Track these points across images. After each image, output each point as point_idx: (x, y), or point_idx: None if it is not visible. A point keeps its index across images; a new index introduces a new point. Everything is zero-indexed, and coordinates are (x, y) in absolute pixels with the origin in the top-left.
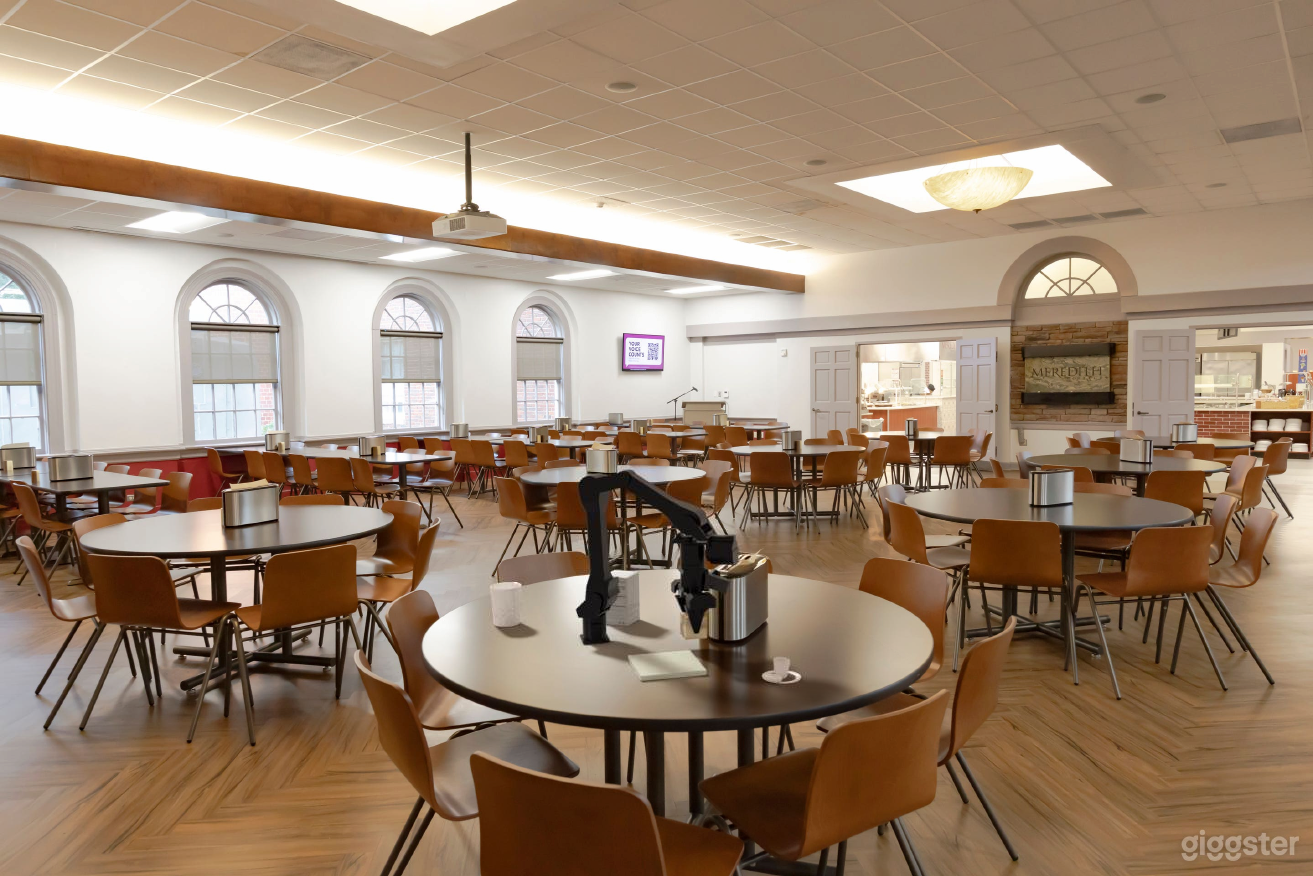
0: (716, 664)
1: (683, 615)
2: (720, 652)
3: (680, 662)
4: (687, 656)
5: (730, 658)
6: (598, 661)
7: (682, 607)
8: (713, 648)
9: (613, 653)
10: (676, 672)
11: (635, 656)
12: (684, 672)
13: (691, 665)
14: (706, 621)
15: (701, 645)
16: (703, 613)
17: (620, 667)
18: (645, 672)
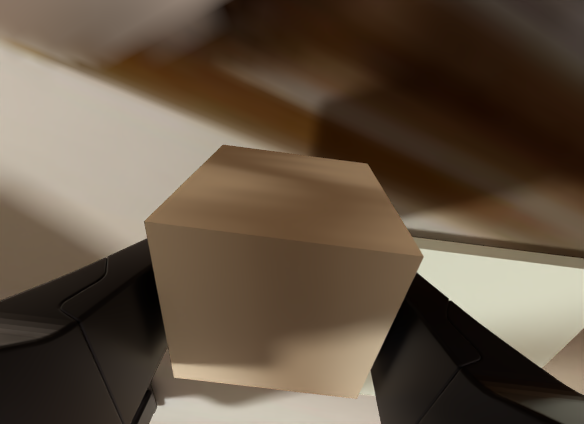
0: (553, 180)
1: (278, 387)
2: (411, 80)
3: (479, 313)
4: (437, 275)
5: (540, 70)
6: (298, 413)
7: (134, 405)
8: (327, 88)
9: None
10: (556, 350)
11: None
12: (576, 333)
13: (540, 297)
14: (400, 224)
15: (253, 130)
16: (541, 382)
17: (365, 397)
18: None
